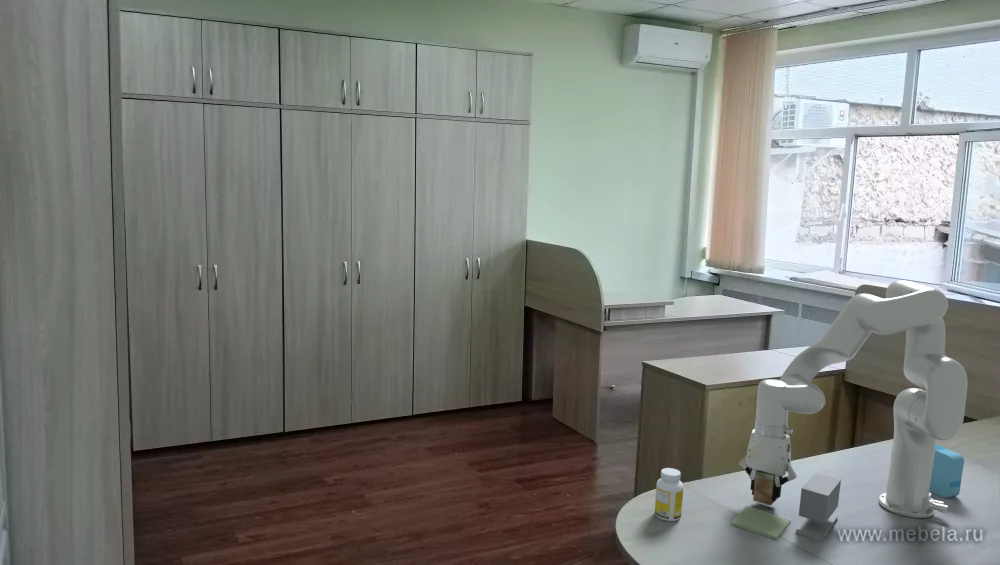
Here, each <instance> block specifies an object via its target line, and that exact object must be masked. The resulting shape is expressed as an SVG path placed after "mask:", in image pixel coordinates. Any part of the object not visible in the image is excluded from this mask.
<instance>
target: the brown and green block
mask: <svg viewBox="0 0 1000 565" xmlns="http://www.w3.org/2000/svg"><path fill="white" fill-rule="evenodd" d="M774 485H775V479H774V475H773V474H769V473H765V472H762V471H758V470H756V471H755V483H754V495H752V496H753V498H752V500H753V501H754V502H755V503H756V502H757V503H761V504H764V505H767V506H769V507H770V506H771V507H772V505H773V504H774V503H775V502H776V501H773V500H772V496H773V487H774Z"/></svg>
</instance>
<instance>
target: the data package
mask: <svg viewBox="0 0 1000 565" xmlns="http://www.w3.org/2000/svg"><path fill="white" fill-rule="evenodd" d="M964 464H965V459H964V457H963V455H962V454H961V453H959V452H957V451H953V450H951V449H948V448H946V447H943V446H941V445H938V444H936V448H935V455H934V461H933V468H932V475H931V482H930V489H929V493H931V494H934V495H936V496H939V497H941V498H943V499H945V498H953V497H957V496H959V495H960V491H961V484H962V477H963V473H964V472H963V470H964V466H965V465H964Z"/></svg>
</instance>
